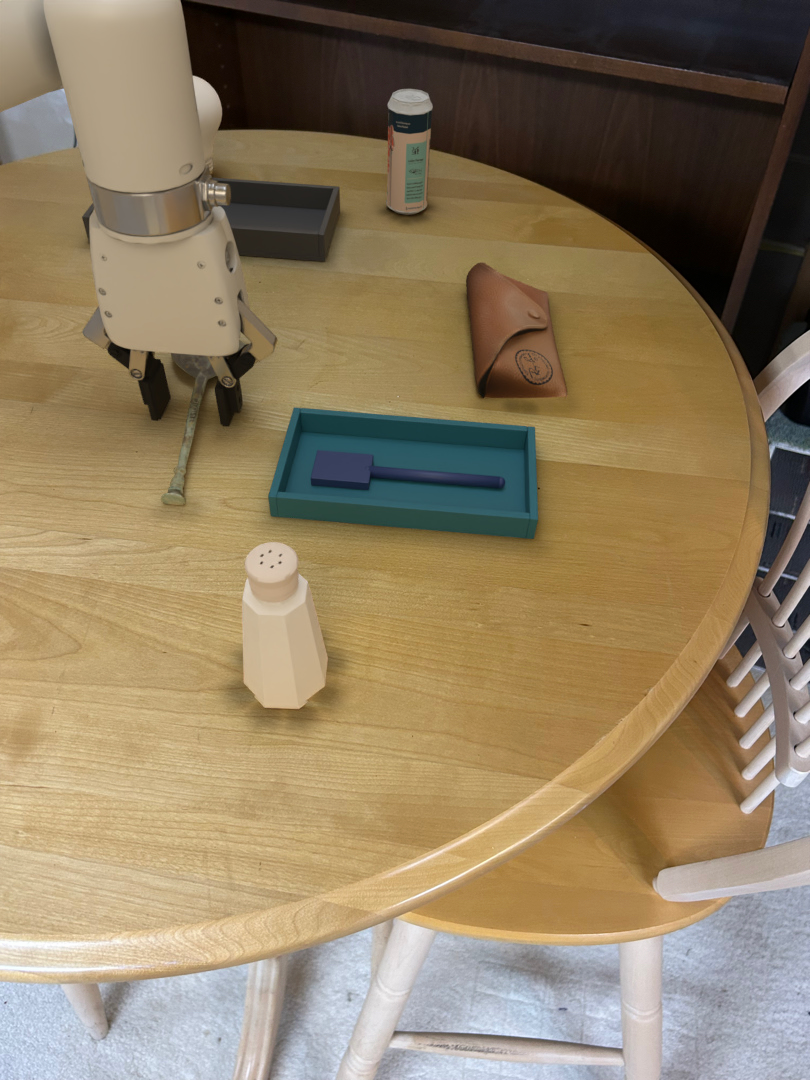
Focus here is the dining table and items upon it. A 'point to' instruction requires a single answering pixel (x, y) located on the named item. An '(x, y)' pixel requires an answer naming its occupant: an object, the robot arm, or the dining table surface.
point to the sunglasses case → (512, 337)
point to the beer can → (408, 150)
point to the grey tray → (278, 218)
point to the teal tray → (417, 449)
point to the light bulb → (207, 116)
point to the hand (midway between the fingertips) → (195, 411)
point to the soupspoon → (189, 418)
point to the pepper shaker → (280, 630)
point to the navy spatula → (383, 473)
